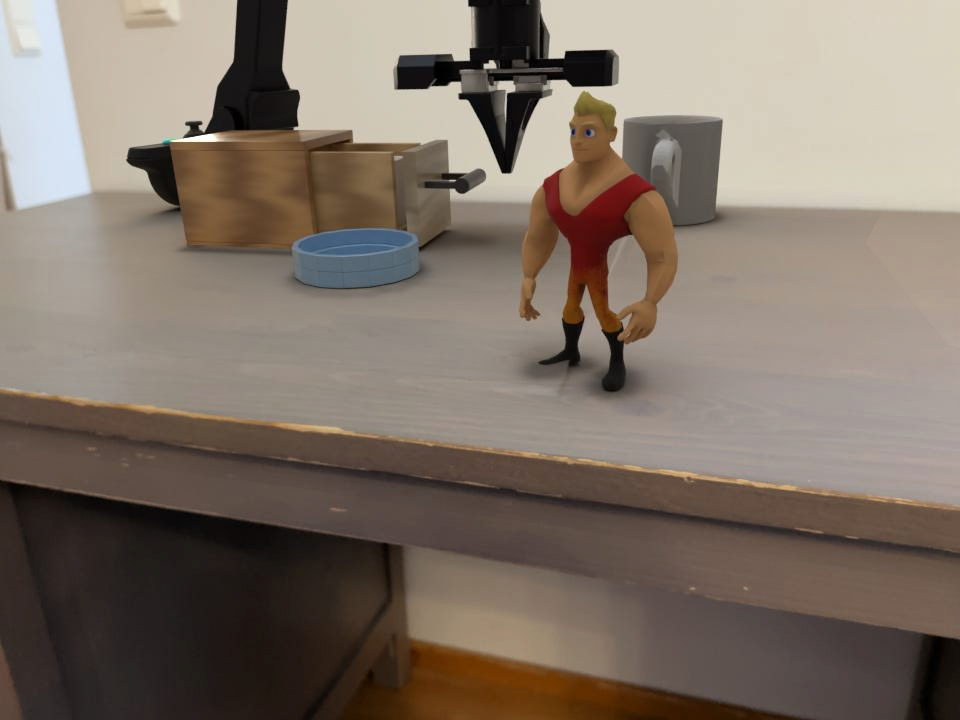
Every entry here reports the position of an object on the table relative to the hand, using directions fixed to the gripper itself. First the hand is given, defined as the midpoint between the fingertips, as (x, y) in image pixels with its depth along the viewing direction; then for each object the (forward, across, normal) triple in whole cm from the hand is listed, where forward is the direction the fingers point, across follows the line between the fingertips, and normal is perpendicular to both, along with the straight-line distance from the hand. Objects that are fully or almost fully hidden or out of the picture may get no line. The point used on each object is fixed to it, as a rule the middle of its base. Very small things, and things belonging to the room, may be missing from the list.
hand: (507, 173), depth 70 cm
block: (+5, +12, 0) cm, 13 cm away
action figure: (+7, -11, +29) cm, 32 cm away
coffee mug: (+7, -13, -15) cm, 21 cm away
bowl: (+7, +10, +12) cm, 17 cm away
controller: (+7, +45, -15) cm, 48 cm away
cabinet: (+7, +24, 0) cm, 25 cm away
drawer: (+6, +11, 0) cm, 13 cm away
